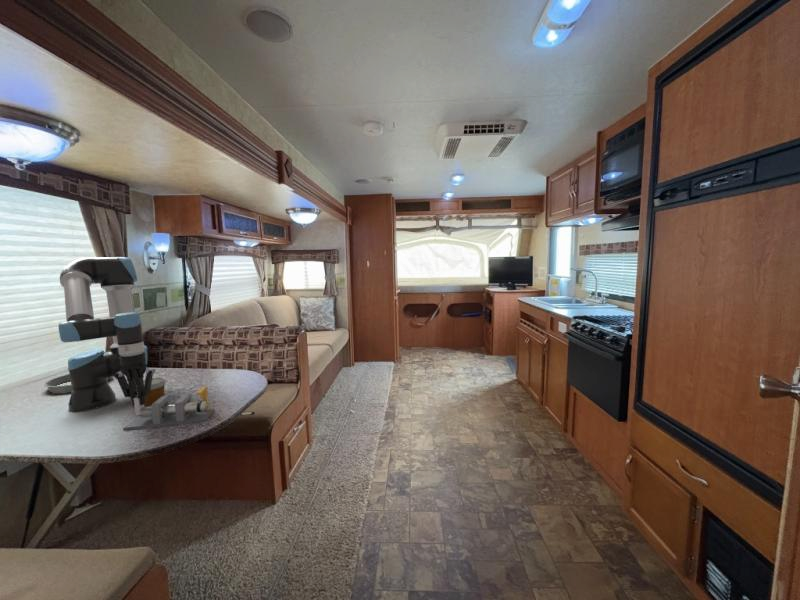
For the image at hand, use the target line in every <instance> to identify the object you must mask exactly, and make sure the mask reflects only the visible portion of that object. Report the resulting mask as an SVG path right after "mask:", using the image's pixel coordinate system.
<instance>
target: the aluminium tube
mask: <svg viewBox="0 0 800 600" xmlns="http://www.w3.org/2000/svg"><path fill="white" fill-rule="evenodd" d="M206 408H207V403H206V401H203V400H201V401H192V402H190V403H185V404H184V410H185V413H195V412H205V411H206ZM161 413H162V416H166V415H176V411H175V403H172V404H171V403H170V405H162V406H161ZM138 416H140V417H141V418H146V417H152V411H151V406H149V407H142V408H141V409H140V413H139V415H138Z"/></svg>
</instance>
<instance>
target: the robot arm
mask: <svg viewBox="0 0 800 600" xmlns="http://www.w3.org/2000/svg"><path fill="white" fill-rule="evenodd" d="M137 281H138V277H137V273H136V269H135V266H134V263H133V261H132V259H130V258H129V257H126V256H125V257H124V256H108V257H106V256H105V257H103V256H101V257H99V256H97V257H82V258H77V259H76V260H74V261H71V262H70V263H68V265H66V266H65V267H63V269H62V271H61V272H60V275H59V283H60V285H61V287H62V288H63V291H64V292H63V293H64V304H65V317H66V318H65V319H66V321H62V322H60V323H58V333H59V338H60V341H61V342H62V343H73V342H74V343H75V342H77V343H78V342H82V341H90V340H96V339H105V338H110V337H112V341H113V343H112V344H111V345H110V346H109V351H105V350H104V349H102V348H99V349H92V350H88V351H84V352H80V353H78V354H74V355H73V356H71V357H70V358H68V360H67V370H68V374H70V381H71V387H72V392H71V394H70V397H69V401H68V410H69V411H70V412H84V411H91V410H94V409H98V408H101V407H104V406H107V405H110V404H111V403H113V402H114V401H115V400H116V399H117V398H116V393H115V392H114V390H113V388H112V387H111V385H110V384H109V378H112V377H114V378H115V379H116V381H117V382H118V385H119V386H120V389H121V392H122V393H123V396H124V397H125V398H130V399H131V405H132V407H134V412H135V415H136V416H140V415H139V413H140V409H141V408H142V407H144V404H145V395H147V394H148V393H150V390H151V383H152V379H153V375H154V374H155V372H156V369H154V368H152V369H151V368H149V367H148V347H147V345H145V344H144V336H143V328H142V327H143V326H142V318H141V314H140V313H139V312H135V311H134V305H133V298H132V291H131V289H132V288H133V287H134V286H135V282H137ZM95 284H96V285H97V284H100V288H101V289H102V290H104V291H105V293H106V299H107V307H108V308H107V309H108V313H109V317H108V316H107V317H100V318H95V315H94V307H93V302H92V294H91V288H90V287H92V285H95ZM144 374H145V375H146V376H145V377H144ZM144 378H145V380H144ZM144 381H145V385H144Z"/></svg>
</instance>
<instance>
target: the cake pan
mask: <svg viewBox="0 0 800 600" xmlns="http://www.w3.org/2000/svg"><path fill="white" fill-rule="evenodd" d="M67 382H71V381H70V374H69V373H67V374H64V375H60V376H57V377H55V378H54V377H53V378H51V379H49V380H47V381H46V382H44V387H46V388H47V389H48V390H49V392H50V393H51V392H54V393H53V394H55V393H61V394H68V393H67V392H71V393H72V387H71V385H64V386H57V385H60V384H63V383H67Z"/></svg>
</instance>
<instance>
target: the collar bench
mask: <svg viewBox="0 0 800 600" xmlns="http://www.w3.org/2000/svg"><path fill="white" fill-rule="evenodd" d="M208 392H209V391H208V385H204V386H202V387H200V389H198V390H197V391H196V393H195V396H199V399H200V400H201V401H206V403H207V408H206V411H205V412H195V413H185V410H184V404H185V403H190V402H193V399H192V393H184V394H182V396H181V397H179V398H178V399H177V400H176V401H175V402H174V404H175V411H176V415H166V416H162V413H161V406H162V405H170V404H171V401H170V395H169V394H167V395H164V396H162V397H160V398H159V399H158V400H157V401H155V402H154V403H153V404H152V405H151V411H152V417H146V418H141V417H140V415H136V417H135V418H133V419H132V420H131V421H130V422H129V423H127V424H126V425H124V427H123V428H122V429H123V431H130V430H139V429H140V430H141V429H147V428H148V429H149V428H150V429H151V428H156V427H157V428H158V427H165V426H166V427H167V426H176V425H177V426H178V425H187V424H194V423H203V422H207V421H208V419H209V418H210V417H211V415H212V414H214V411H215V408H210V402H209V393H208Z"/></svg>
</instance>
